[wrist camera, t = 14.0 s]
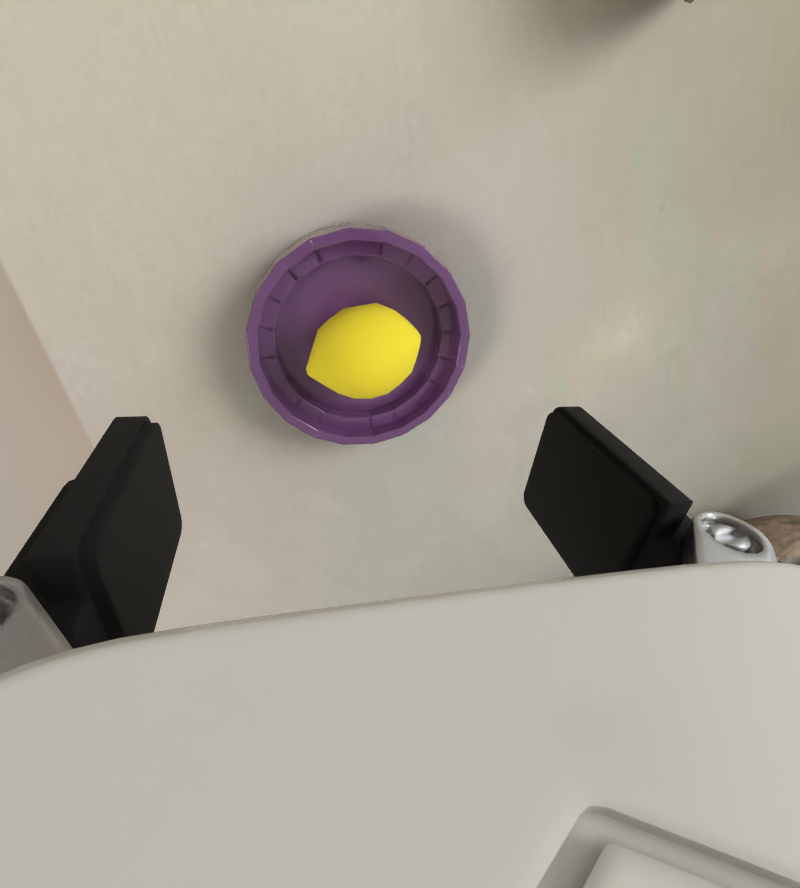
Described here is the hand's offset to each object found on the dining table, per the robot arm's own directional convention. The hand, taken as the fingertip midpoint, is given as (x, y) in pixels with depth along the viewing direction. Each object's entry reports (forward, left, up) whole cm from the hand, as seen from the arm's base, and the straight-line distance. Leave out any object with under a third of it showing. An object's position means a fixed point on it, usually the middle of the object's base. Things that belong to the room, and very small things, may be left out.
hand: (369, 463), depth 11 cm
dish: (+2, -3, -19) cm, 19 cm away
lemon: (+2, -3, -19) cm, 19 cm away
